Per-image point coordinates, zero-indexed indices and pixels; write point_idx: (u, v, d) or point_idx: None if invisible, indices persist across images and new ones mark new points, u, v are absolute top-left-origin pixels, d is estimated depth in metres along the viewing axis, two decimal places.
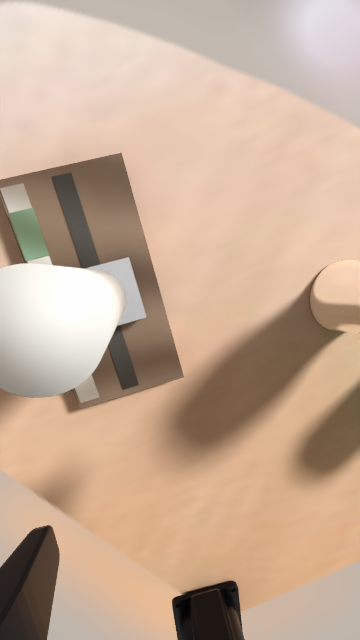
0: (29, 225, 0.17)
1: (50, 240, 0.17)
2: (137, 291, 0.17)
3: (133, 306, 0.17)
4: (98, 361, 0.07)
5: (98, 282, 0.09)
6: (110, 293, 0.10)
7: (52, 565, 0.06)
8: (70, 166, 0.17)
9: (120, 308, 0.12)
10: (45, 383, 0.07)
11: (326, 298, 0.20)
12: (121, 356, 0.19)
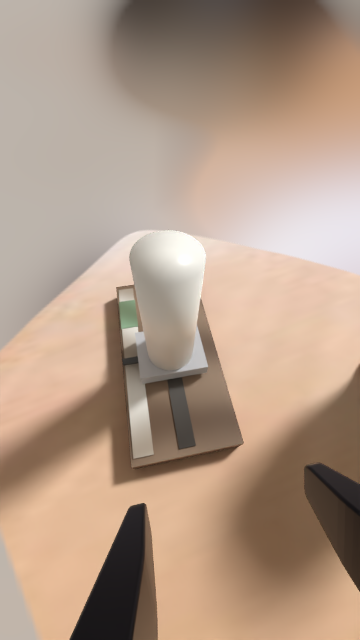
0: (130, 308, 0.25)
1: None
2: (201, 346, 0.21)
3: (197, 357, 0.20)
4: (200, 270, 0.12)
5: None
6: None
7: (150, 540, 0.06)
8: None
9: None
10: (167, 277, 0.12)
11: None
12: (181, 411, 0.20)
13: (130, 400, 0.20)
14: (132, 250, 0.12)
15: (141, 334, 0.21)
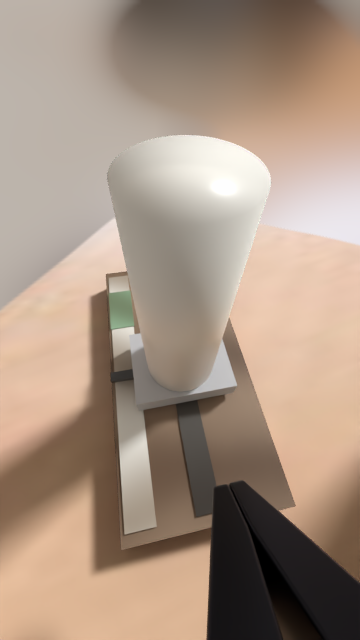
0: (123, 302, 0.18)
1: None
2: (225, 355, 0.14)
3: (221, 371, 0.14)
4: (263, 196, 0.05)
5: None
6: None
7: None
8: None
9: None
10: (192, 210, 0.05)
11: None
12: (197, 453, 0.13)
13: (121, 435, 0.13)
14: (114, 163, 0.06)
15: (138, 337, 0.15)
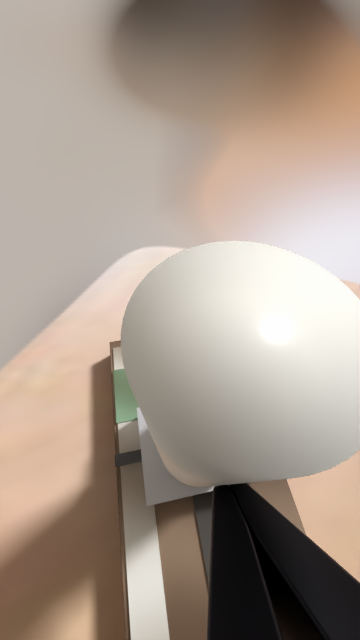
0: None
1: None
2: None
3: None
4: None
5: None
6: None
7: None
8: None
9: None
10: (272, 437, 0.03)
11: None
12: None
13: (132, 591, 0.10)
14: (131, 309, 0.04)
15: None
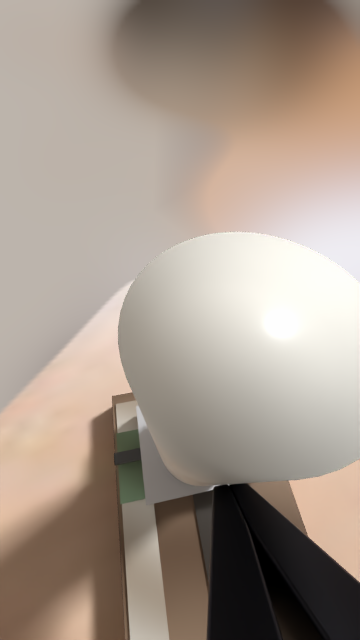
0: None
1: None
2: None
3: None
4: None
5: None
6: None
7: None
8: None
9: None
10: (279, 435, 0.03)
11: None
12: None
13: None
14: (129, 301, 0.04)
15: None
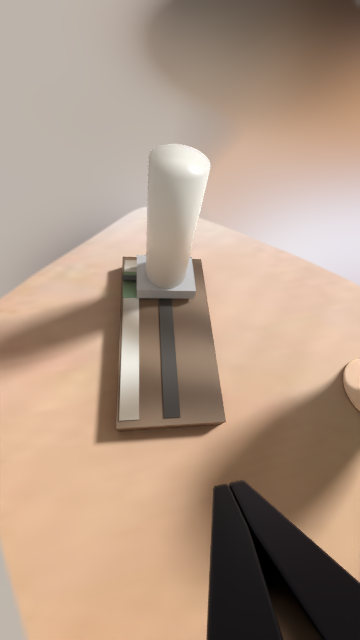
0: None
1: None
2: (193, 275, 0.24)
3: (188, 282, 0.24)
4: (204, 174, 0.15)
5: None
6: None
7: None
8: None
9: None
10: (177, 174, 0.14)
11: (358, 377, 0.23)
12: (170, 383, 0.20)
13: (123, 366, 0.21)
14: (151, 152, 0.15)
15: (142, 257, 0.24)
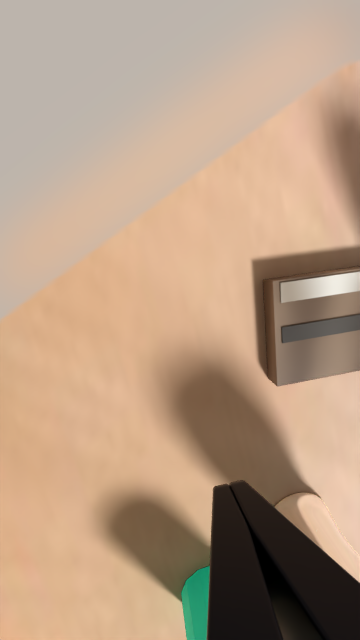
0: None
1: None
2: None
3: None
4: None
5: None
6: None
7: None
8: None
9: None
10: None
11: (315, 511, 0.23)
12: (313, 330, 0.19)
13: (333, 277, 0.19)
14: None
15: None
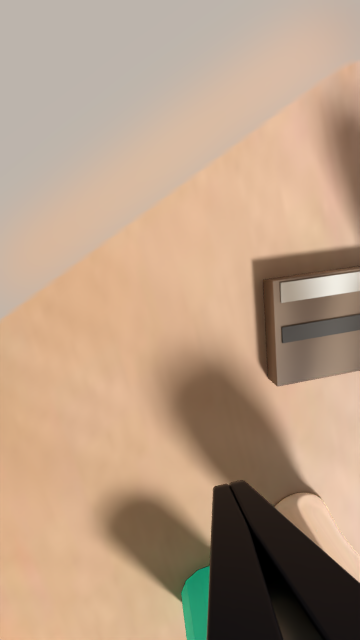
0: None
1: None
2: None
3: None
4: None
5: None
6: None
7: None
8: None
9: None
10: None
11: (315, 511, 0.23)
12: (314, 330, 0.19)
13: (333, 277, 0.19)
14: None
15: None
